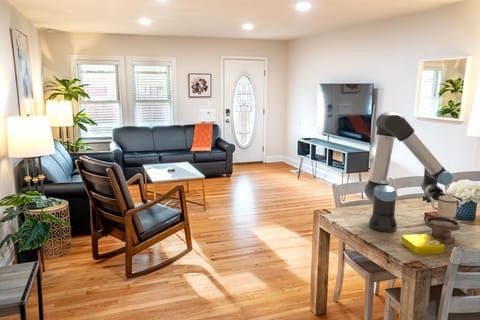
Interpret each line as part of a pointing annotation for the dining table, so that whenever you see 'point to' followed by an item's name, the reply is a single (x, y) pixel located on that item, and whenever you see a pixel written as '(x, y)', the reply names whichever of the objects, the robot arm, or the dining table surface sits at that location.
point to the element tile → (422, 244)
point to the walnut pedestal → (442, 228)
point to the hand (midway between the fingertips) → (446, 203)
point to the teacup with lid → (446, 206)
